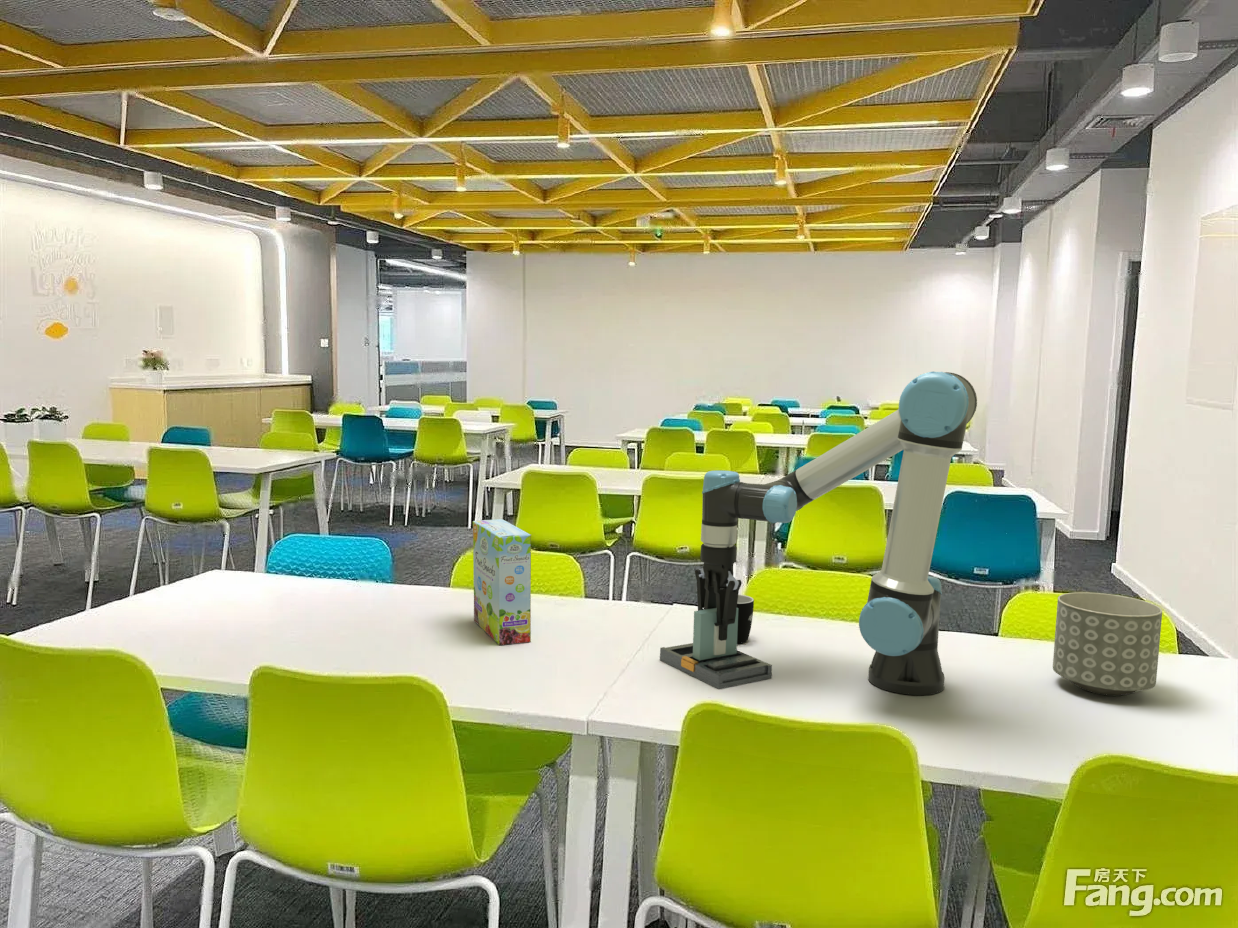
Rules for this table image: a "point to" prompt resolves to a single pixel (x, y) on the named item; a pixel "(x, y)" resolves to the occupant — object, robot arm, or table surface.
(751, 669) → the rack
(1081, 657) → the planter
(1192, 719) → the table surface
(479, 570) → the snack box
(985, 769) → the table surface
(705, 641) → the block
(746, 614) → the mug
